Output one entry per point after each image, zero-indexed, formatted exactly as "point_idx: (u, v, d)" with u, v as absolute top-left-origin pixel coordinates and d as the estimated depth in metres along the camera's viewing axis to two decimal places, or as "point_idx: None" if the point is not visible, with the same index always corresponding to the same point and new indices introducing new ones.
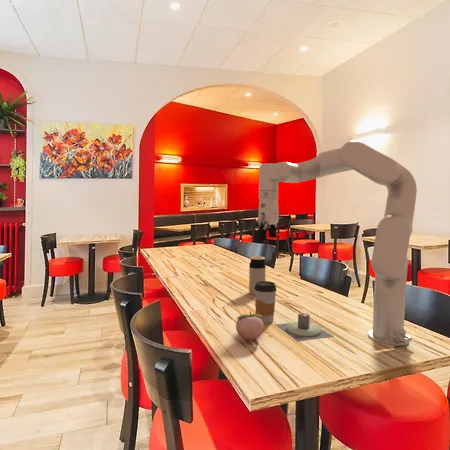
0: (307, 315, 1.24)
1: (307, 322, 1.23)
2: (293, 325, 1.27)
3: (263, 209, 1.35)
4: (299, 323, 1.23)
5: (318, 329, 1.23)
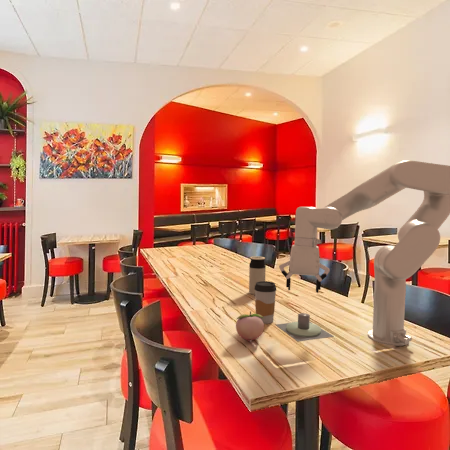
0: (307, 315, 1.24)
1: (307, 322, 1.23)
2: (293, 325, 1.27)
3: None
4: (299, 323, 1.23)
5: (318, 329, 1.23)
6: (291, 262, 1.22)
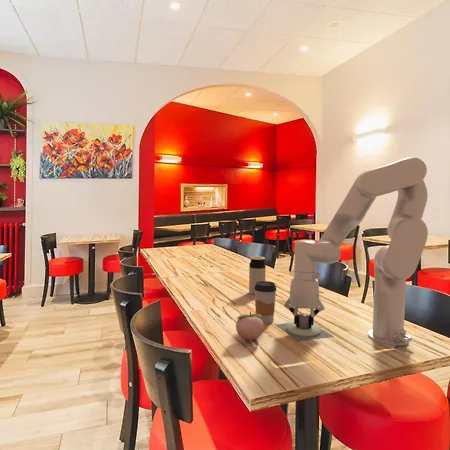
0: (307, 315, 1.24)
1: (307, 322, 1.23)
2: (293, 325, 1.27)
3: None
4: (299, 323, 1.23)
5: (318, 329, 1.23)
6: (291, 296, 1.22)
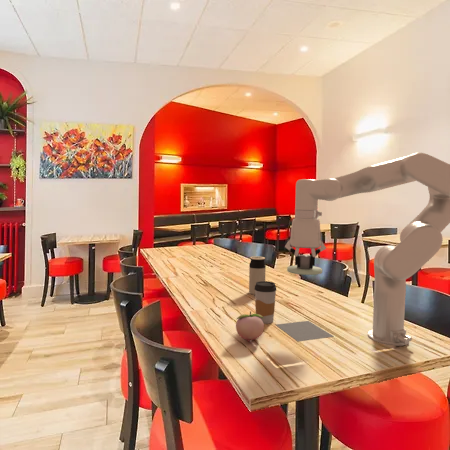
0: (308, 255, 1.22)
1: (308, 262, 1.21)
2: (294, 267, 1.25)
3: None
4: (300, 263, 1.22)
5: (319, 269, 1.21)
6: (292, 235, 1.21)
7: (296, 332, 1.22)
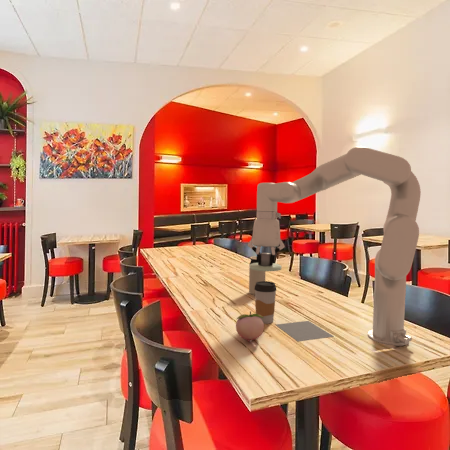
0: (269, 253, 1.32)
1: (268, 259, 1.30)
2: (256, 264, 1.35)
3: (279, 231, 1.31)
4: (261, 261, 1.31)
5: (278, 266, 1.31)
6: (253, 235, 1.30)
7: (296, 332, 1.22)
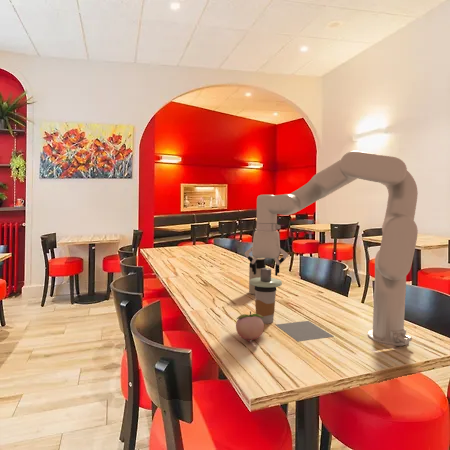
0: (269, 269, 1.32)
1: (268, 275, 1.31)
2: (256, 279, 1.35)
3: (279, 242, 1.31)
4: (261, 276, 1.32)
5: (279, 282, 1.31)
6: (253, 246, 1.31)
7: (296, 332, 1.22)
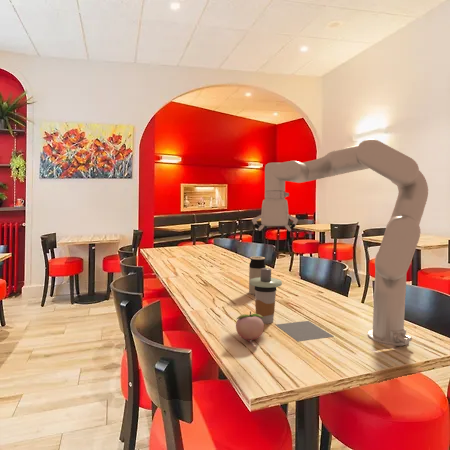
0: (269, 269, 1.32)
1: (268, 275, 1.31)
2: (256, 279, 1.35)
3: None
4: (261, 276, 1.32)
5: (279, 282, 1.31)
6: (262, 214, 1.32)
7: (296, 332, 1.22)
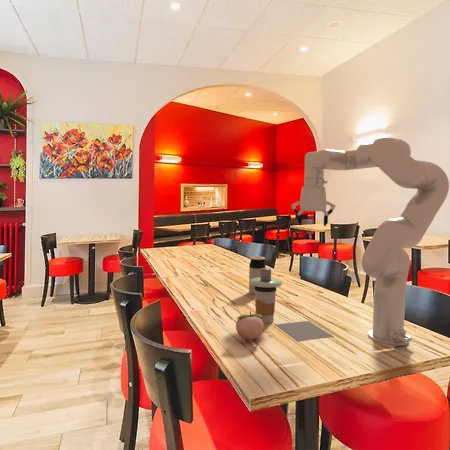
0: (269, 269, 1.32)
1: (268, 275, 1.31)
2: (256, 279, 1.35)
3: None
4: (261, 276, 1.32)
5: (279, 282, 1.31)
6: (302, 200, 1.42)
7: (296, 332, 1.22)
